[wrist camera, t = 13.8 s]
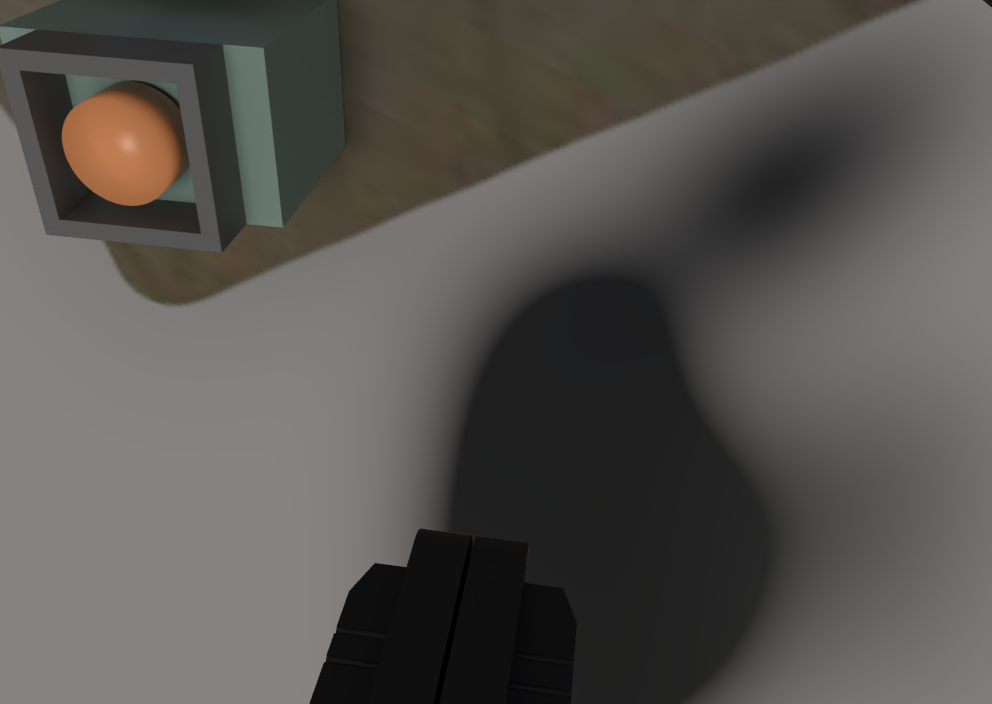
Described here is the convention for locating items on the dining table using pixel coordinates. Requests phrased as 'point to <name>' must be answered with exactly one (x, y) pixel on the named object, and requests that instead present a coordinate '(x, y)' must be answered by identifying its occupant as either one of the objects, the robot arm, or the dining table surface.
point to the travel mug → (988, 2)
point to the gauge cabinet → (183, 109)
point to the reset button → (126, 143)
